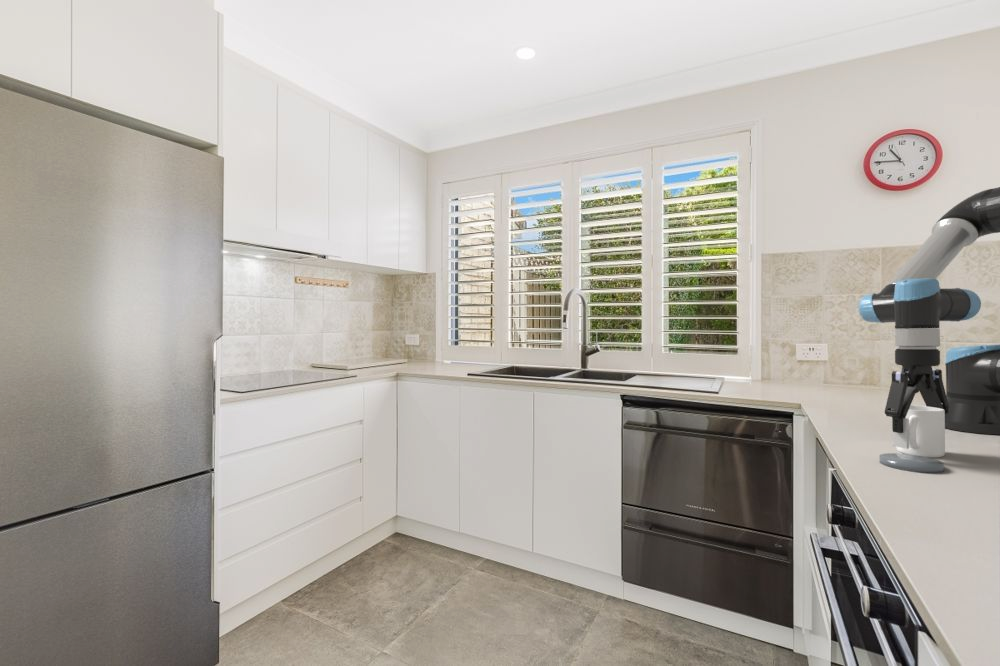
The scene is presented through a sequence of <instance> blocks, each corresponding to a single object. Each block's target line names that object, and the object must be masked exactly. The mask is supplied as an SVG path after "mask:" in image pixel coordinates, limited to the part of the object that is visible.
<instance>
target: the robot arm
mask: <svg viewBox="0 0 1000 666" xmlns="http://www.w3.org/2000/svg"><path fill="white" fill-rule="evenodd" d="M998 233H1000V186H999V187H994V188H988V189H984V190H982V191H979V192H977V193H975V194H973V195H971V196H969V197H967V198H965V199H963V200H962V201H960V202H958V203H957V204H956V205H955V206H953V207H952V208H951V209H949V210H948V211H947V212H946V213H945V214H943V215H942V216H941V217H940V218H939V219H938V220H937V221H936V222H935V224H934V225H933V226H932V229H931V234H930V235H929V237H928V238H927V239H926V240H925V241H924V242H923V244H921V246H919V248H918V249H917V250H916V251H915V252H914V253H913V254H912V255H911V257H910V258H909V259H908V260H907V261H906V263H905V264H904V265H902V267H901V268H900V269H899V271H897V273H896V274H895V275H894V276H893V277H892V279H890V280H889V282H888V283H887V284H886V285H885V286H884V287H883V288H882V289H881V291H880V292H878V293H871V294H866V295H864V296H863V297H862V298H861V299H860V300H859V303H858V312H859V315H860V316H861V318H862V319H863V321H866V322H869V323H881V324H882V323H883V324H886V323H894V333H893V337H894V346H896V347H898V348H896V349H895V350H894V363H895V365H897V366H902V367H901V371H898V370H897V371H895V370H894V371H892V372H891V384H890V387H889V392H888V396H887V399H886V404H885V407H884V414H885V415H886V417H891V419H892V421H891V422H892V424H891V426H892V427H891V430H892V447H895V448H896V447H900V448H905V449H909V419H908V418H905V417H906V415H907V413H908V410H909V408H910V405H912V402H913V401H914V397H915V395H916V394H918V393H920V395H921V397H922V399H923V401H924V403H925V406H928V407H936V408H941V409H944V410H945V429H948V430H954V431H958V432H959V431H960V432H966V433H974V434H984V435H985V434H986V435H1000V344H988V345H987V344H986V345H985V344H984V345H971V346H960V347H959V346H958V347H952V348H949V349H948V350H947V351H946V354H945V355H946V356H945V362H944V365H945V385H944V382H943V371H942V369H939V368H937V369H936V368H933V367H938V366H940V365H941V350H939V349H937V348H938V347H940V346H941V329H940V322H960V321H961V322H962V321H968V320H970V319H972V318H974V317H975V316H976V315H978V313H979V312H980V311H981V308H982V301H981V298H980V296H979V295H978V294H977V293H976V292H974V291H973V290H969V289H967V288H960V287H955V288H941V286H940V282H939V280H938V278H939V276H940V275H941V274H942V273H943V272H944V271H945V269H946V268H948V266H949V265H950V264H951V263H952V261H953V260H954V259H955V258H956V257H957V256H958V255H959V253H960V252H961V251H962V250H963V249H964V248H965V247H969V246H971V245H973V243H974V242H976V241H977V239H979V238H981V237H984V236H988V235H991V234H998Z"/></svg>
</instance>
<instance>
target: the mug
mask: <svg viewBox="0 0 1000 666" xmlns="http://www.w3.org/2000/svg"><path fill="white" fill-rule="evenodd" d="M905 418H908V419H909V449H905V448H900V447H895V449H896V450H897V452H899V453H900V454H909V455H917V456H922V457H927V458H932V459H935V458H942V457H944V456H945V453H946V428H945V410H944V409H941V408H936V407H928V406H926V405H914V404H911V405H910V408H909V410H908V413H907V415H906V417H905Z"/></svg>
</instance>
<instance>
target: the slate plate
mask: <svg viewBox="0 0 1000 666" xmlns="http://www.w3.org/2000/svg"><path fill="white" fill-rule="evenodd" d="M879 464H881V465H883V466H886V467H889V468H893V469H897V470H901V471H906V470H907V471H908V472H913V471H916V472H915V473H922V472H928V473H927V474H936V473H938V472H939V473H943V472H944V471H945V464H944V462H943V461H940V460H938V459H935V458H929V457H922V456H917V455H909V454H904V453H898V452H897V453H893V452H892V453H890V452H889V453H887V452H886V453H881V454H879ZM907 471H906V472H907ZM932 472H933V473H932Z"/></svg>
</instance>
